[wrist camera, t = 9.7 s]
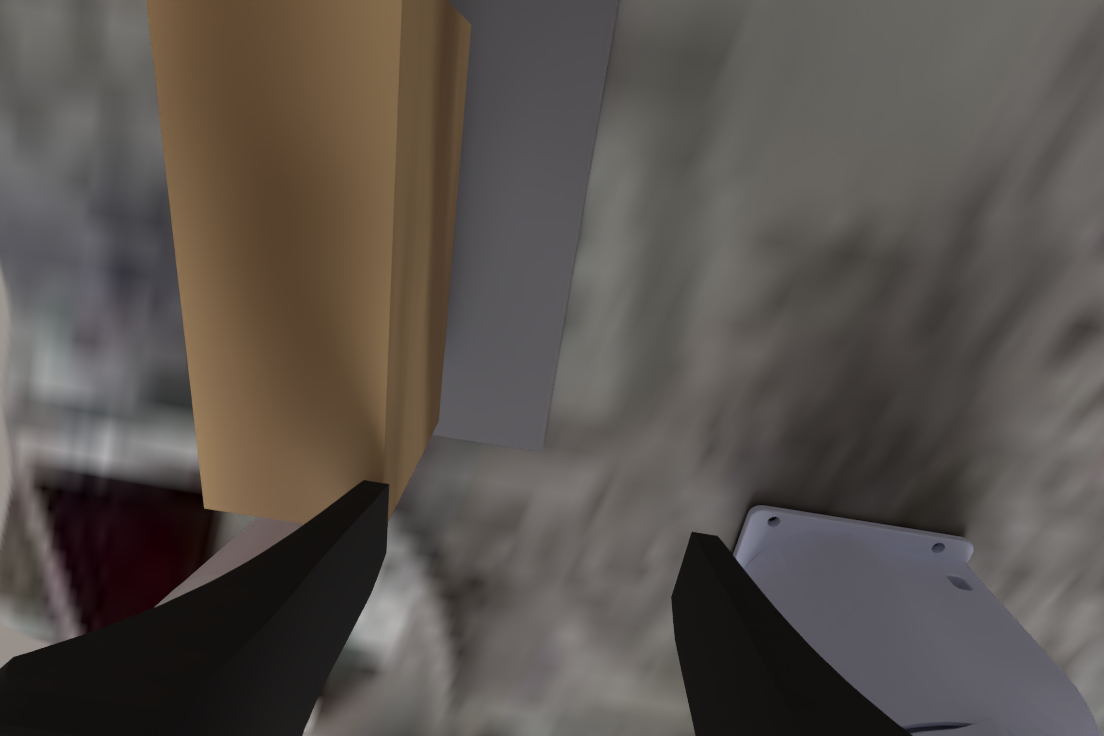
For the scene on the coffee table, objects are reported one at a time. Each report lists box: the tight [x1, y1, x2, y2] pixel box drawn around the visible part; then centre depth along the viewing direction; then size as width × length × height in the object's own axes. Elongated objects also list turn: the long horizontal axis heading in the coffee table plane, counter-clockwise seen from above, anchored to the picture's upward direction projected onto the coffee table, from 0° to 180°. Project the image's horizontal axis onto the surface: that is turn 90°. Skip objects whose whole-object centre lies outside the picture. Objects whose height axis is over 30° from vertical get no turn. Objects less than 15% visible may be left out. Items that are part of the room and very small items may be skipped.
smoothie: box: [155, 517, 308, 731], centre depth 18 cm, size 6×6×14 cm
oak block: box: [146, 0, 471, 524], centre depth 14 cm, size 4×12×6 cm, turn 171°
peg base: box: [432, 0, 619, 452], centre depth 18 cm, size 12×16×3 cm
